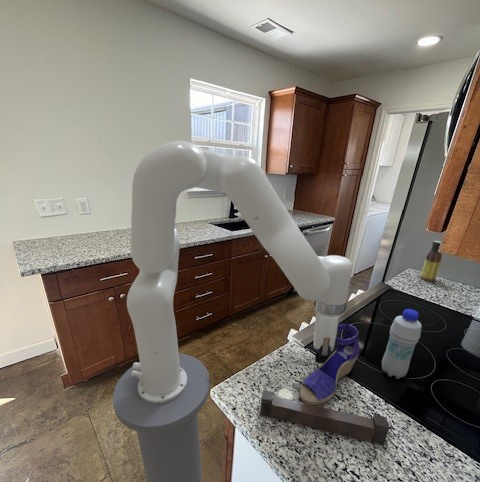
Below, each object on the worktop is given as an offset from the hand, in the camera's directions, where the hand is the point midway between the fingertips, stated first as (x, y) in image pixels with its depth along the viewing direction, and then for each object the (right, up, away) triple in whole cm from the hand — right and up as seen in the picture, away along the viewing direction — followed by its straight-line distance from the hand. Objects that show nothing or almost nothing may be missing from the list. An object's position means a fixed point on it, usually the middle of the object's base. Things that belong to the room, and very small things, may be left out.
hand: (321, 361), depth 74 cm
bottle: (+20, -3, 0) cm, 20 cm away
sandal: (+1, -5, -4) cm, 6 cm away
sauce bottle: (+71, +21, +59) cm, 95 cm away
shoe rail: (-5, -9, -15) cm, 18 cm away
